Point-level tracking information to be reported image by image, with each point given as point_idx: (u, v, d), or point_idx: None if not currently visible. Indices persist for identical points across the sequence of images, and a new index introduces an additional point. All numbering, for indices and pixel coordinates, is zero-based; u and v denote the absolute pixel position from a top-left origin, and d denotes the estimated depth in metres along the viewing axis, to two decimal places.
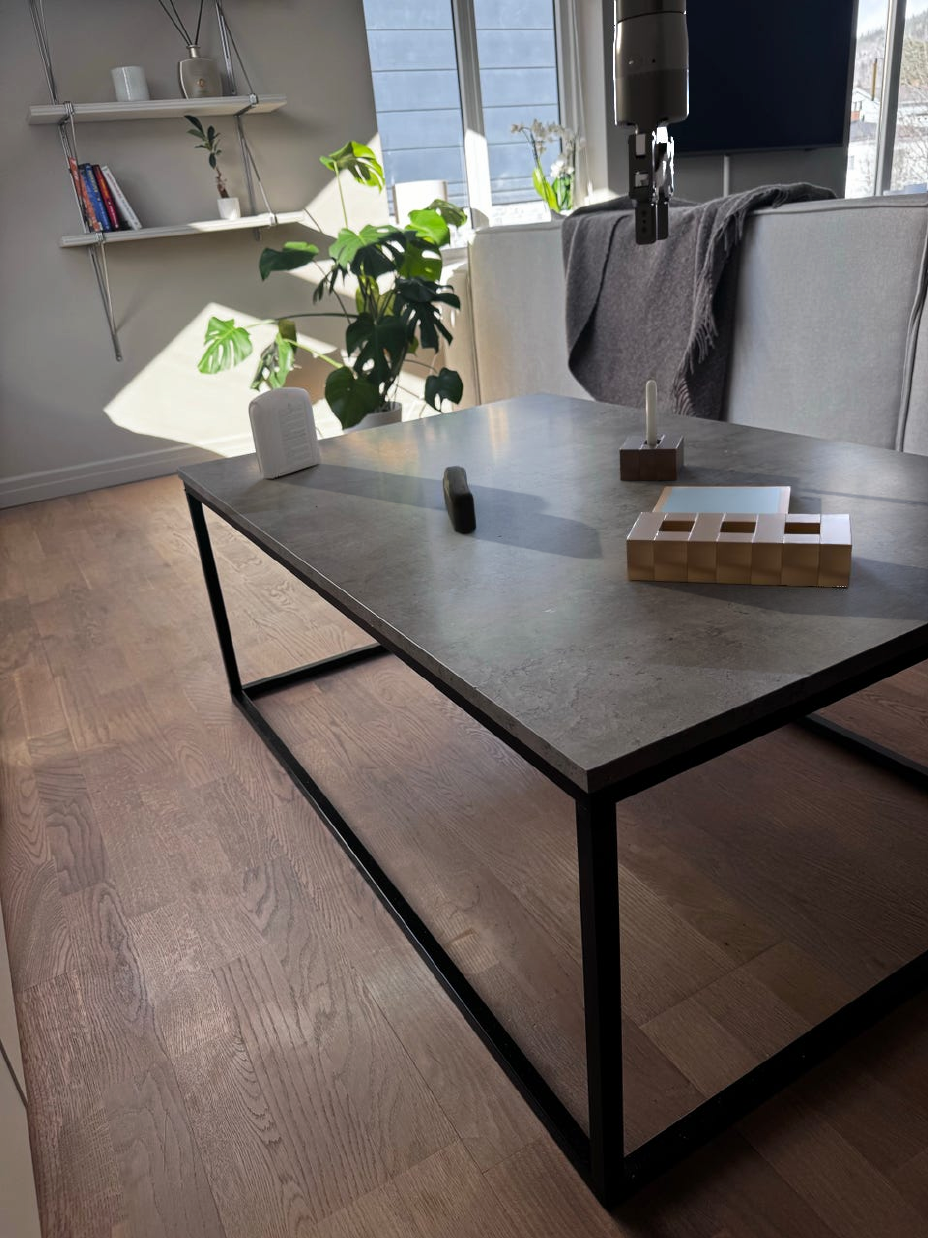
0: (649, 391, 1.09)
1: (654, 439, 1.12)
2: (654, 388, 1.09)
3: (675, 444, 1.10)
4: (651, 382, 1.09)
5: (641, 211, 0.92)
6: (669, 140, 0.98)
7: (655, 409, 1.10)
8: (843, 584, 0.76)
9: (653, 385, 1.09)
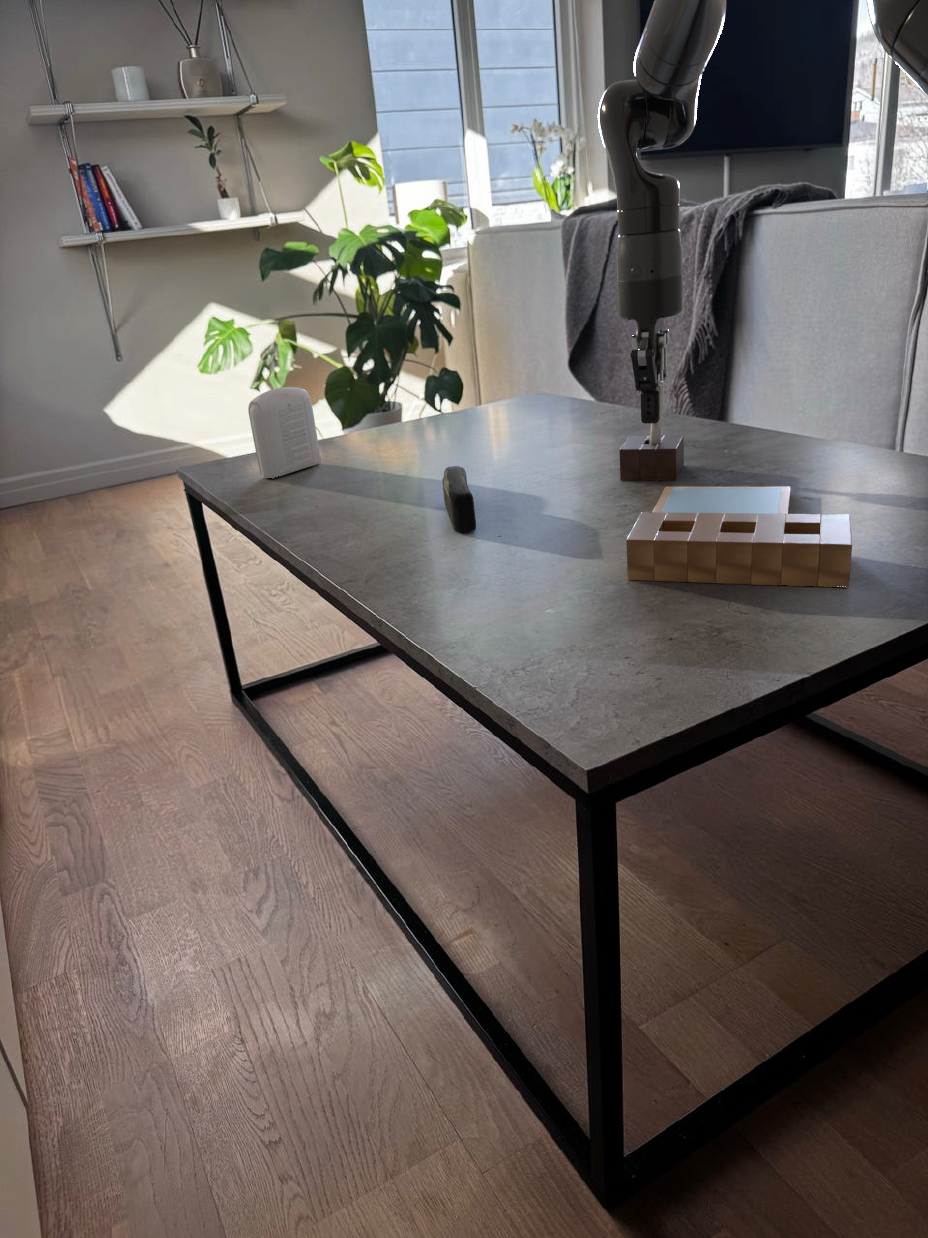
0: None
1: (657, 439, 1.11)
2: (662, 388, 1.09)
3: (675, 444, 1.10)
4: None
5: (646, 398, 1.08)
6: None
7: (661, 409, 1.10)
8: (843, 584, 0.76)
9: (661, 385, 1.09)
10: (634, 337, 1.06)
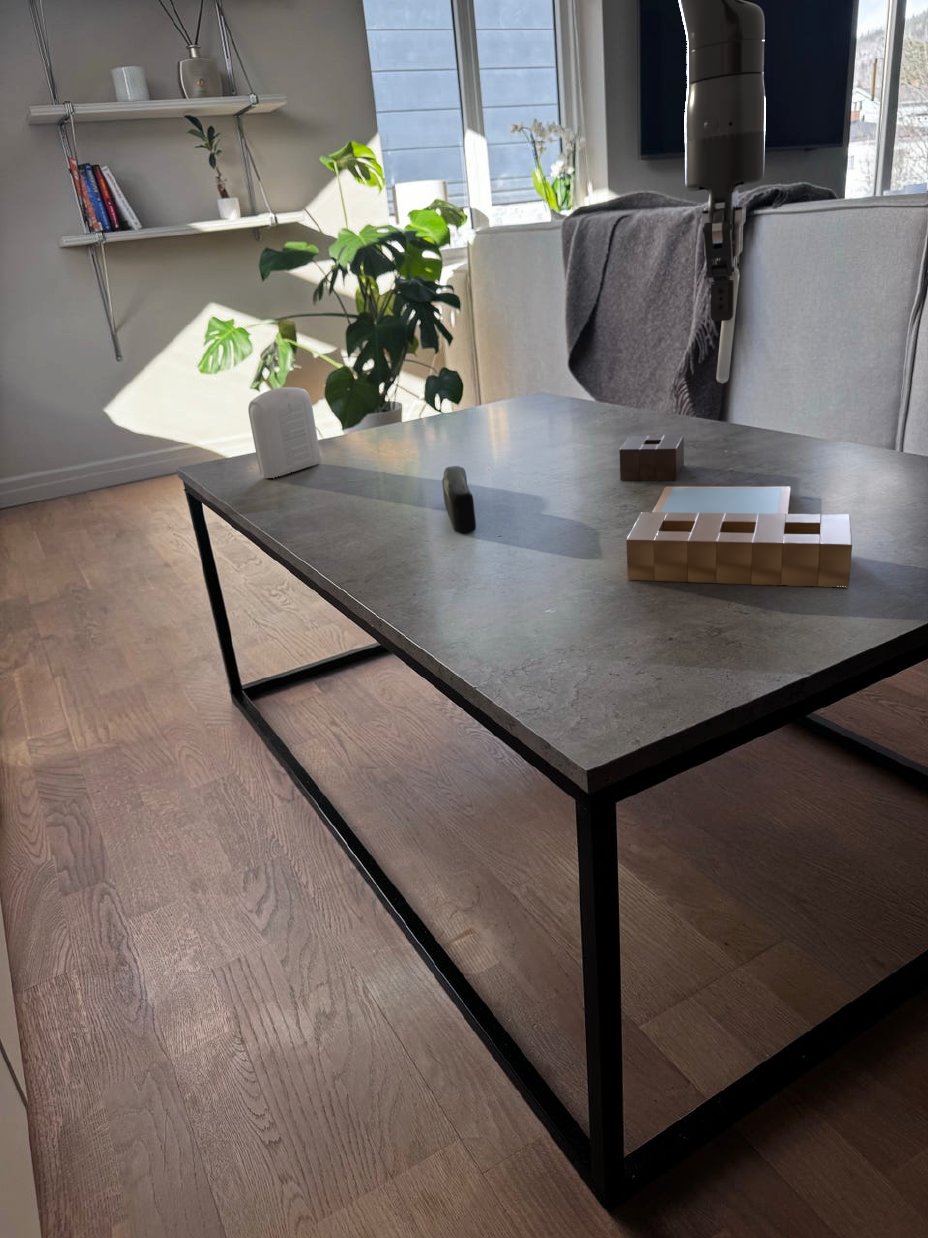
0: None
1: (729, 341, 0.94)
2: (736, 277, 0.91)
3: (675, 444, 1.10)
4: None
5: (718, 288, 0.90)
6: None
7: (734, 304, 0.92)
8: (843, 584, 0.76)
9: (736, 273, 0.91)
10: (705, 212, 0.88)
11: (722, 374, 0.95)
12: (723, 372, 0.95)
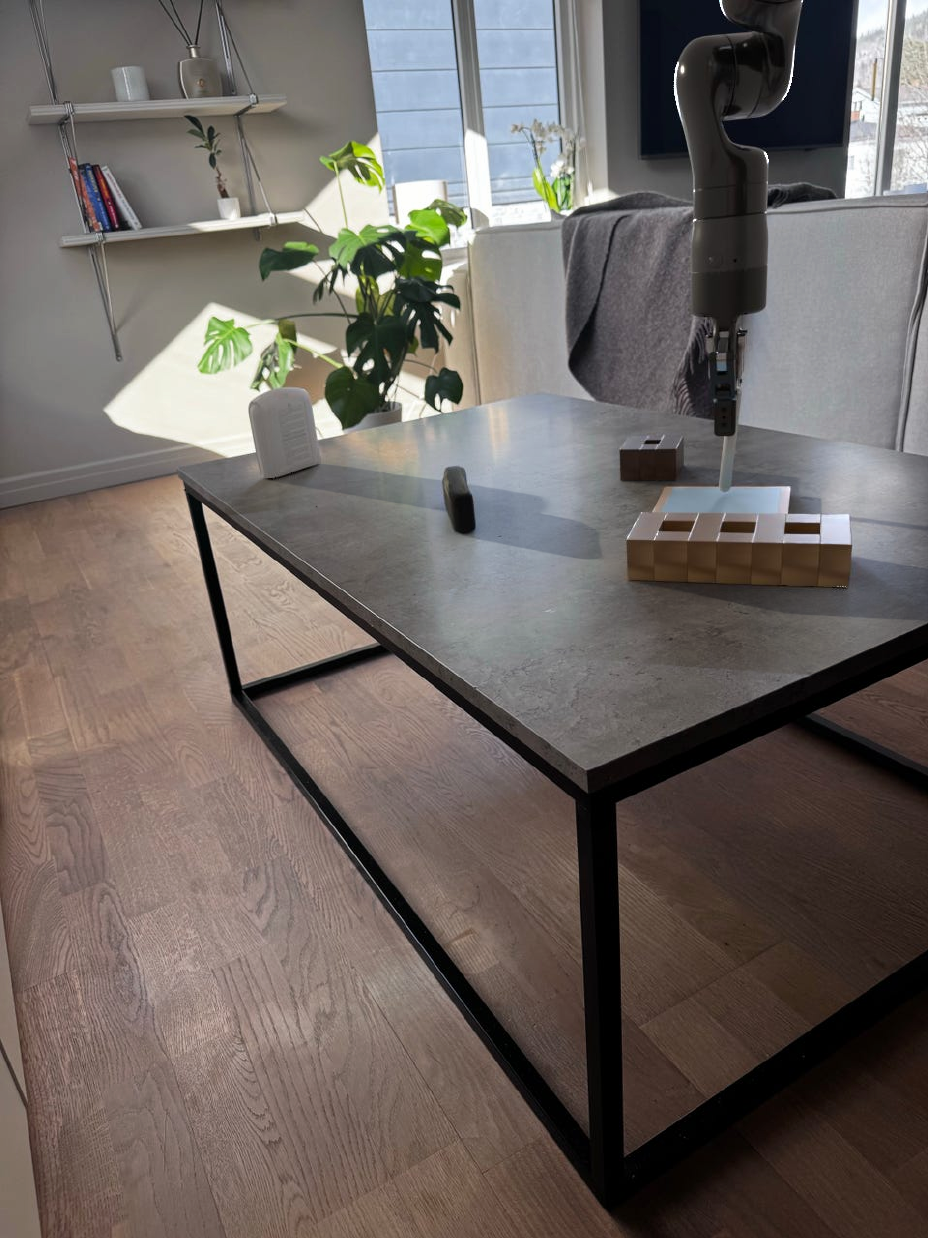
0: None
1: (731, 454, 0.97)
2: (739, 396, 0.95)
3: (675, 444, 1.10)
4: None
5: (721, 407, 0.94)
6: None
7: (737, 420, 0.96)
8: (843, 584, 0.76)
9: None
10: (709, 337, 0.92)
11: (724, 484, 0.99)
12: (725, 483, 0.99)
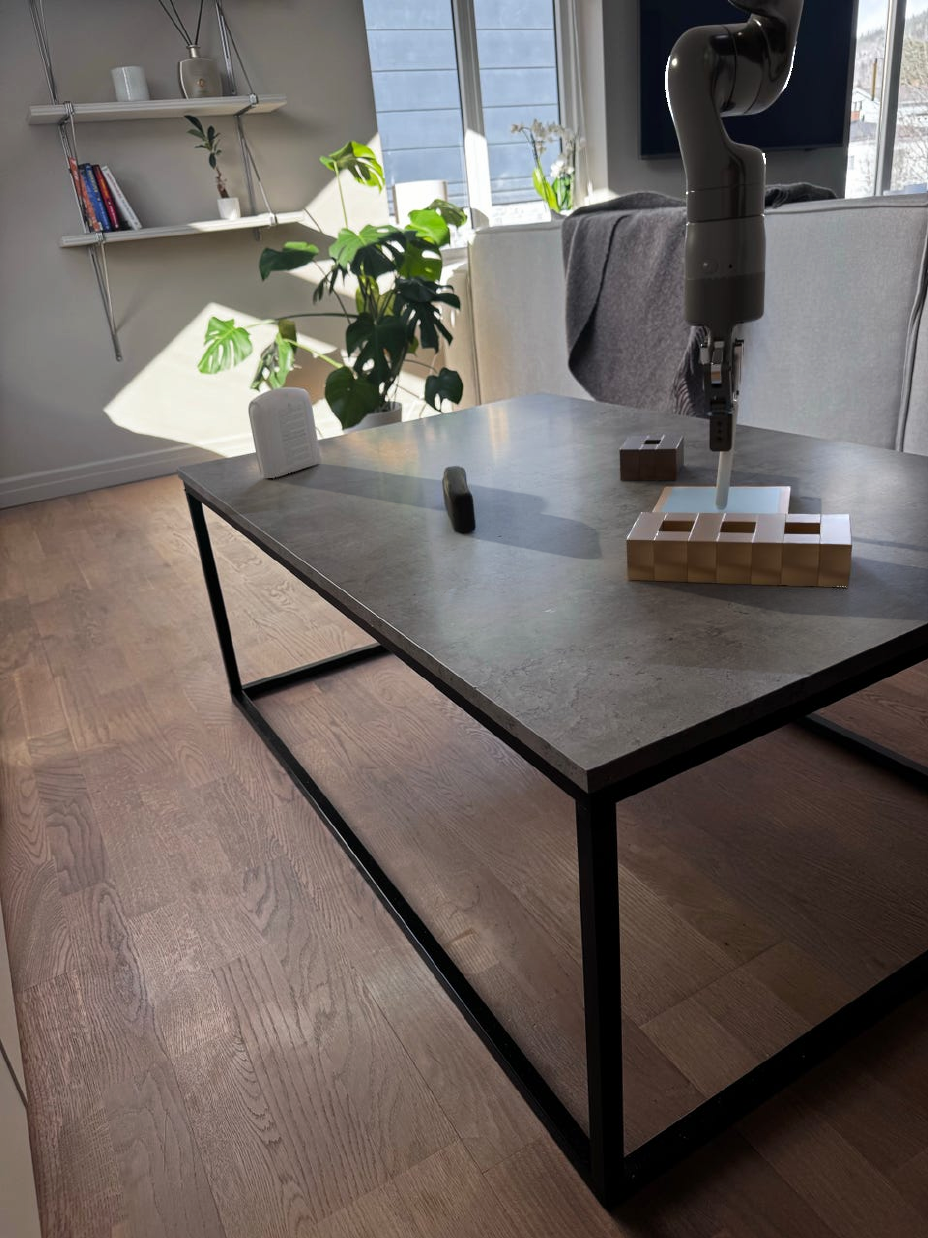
0: None
1: (728, 470, 0.92)
2: (735, 409, 0.89)
3: (675, 444, 1.10)
4: None
5: (716, 421, 0.89)
6: None
7: (733, 435, 0.90)
8: (843, 584, 0.76)
9: (735, 406, 0.89)
10: (703, 347, 0.87)
11: (720, 502, 0.94)
12: (721, 500, 0.93)
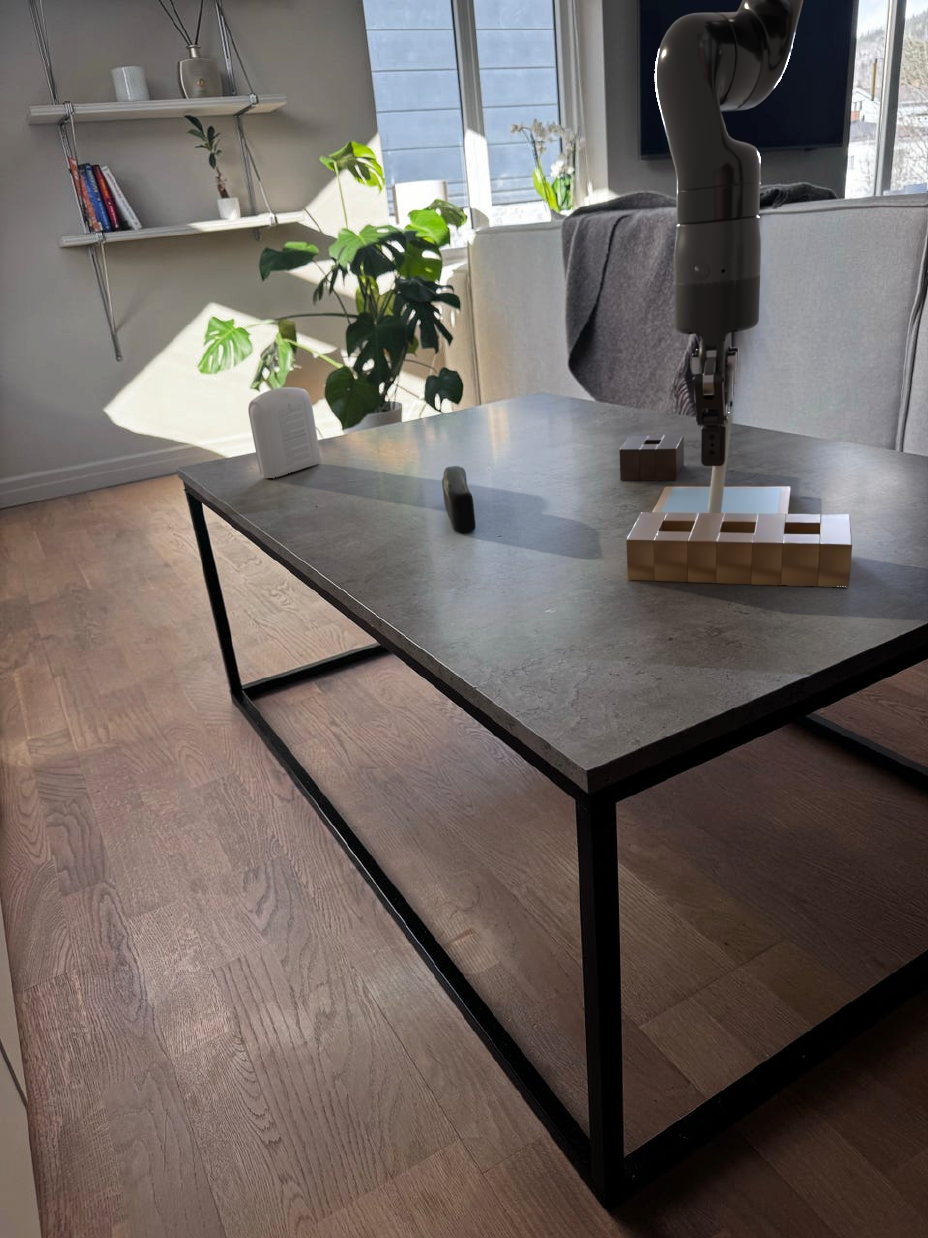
0: None
1: (720, 486, 0.87)
2: (729, 422, 0.85)
3: (675, 444, 1.10)
4: None
5: (709, 434, 0.84)
6: None
7: (726, 448, 0.86)
8: (843, 584, 0.76)
9: (728, 418, 0.84)
10: (695, 356, 0.82)
11: None
12: None
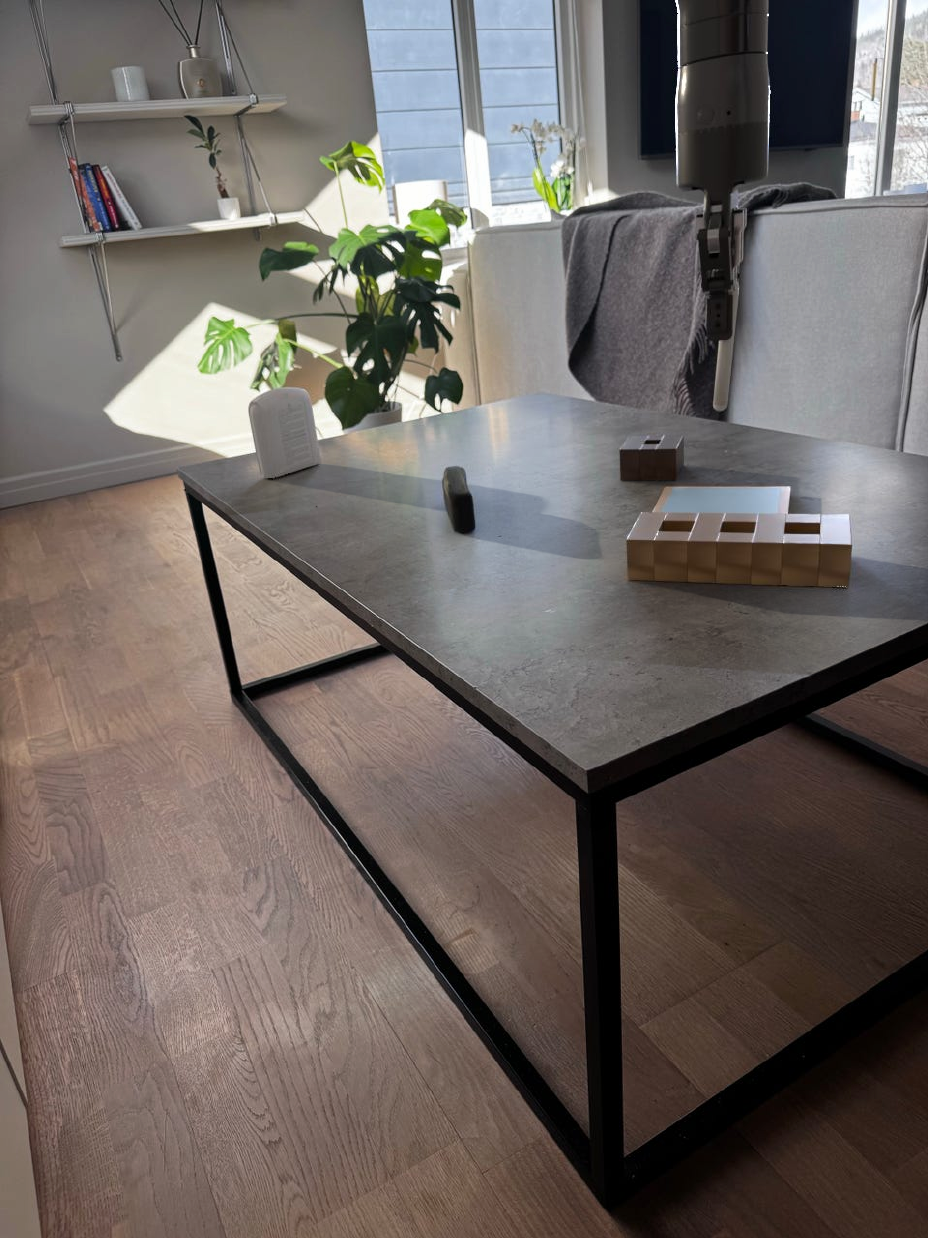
0: None
1: (728, 364, 0.82)
2: (736, 291, 0.79)
3: (675, 444, 1.10)
4: None
5: (715, 304, 0.78)
6: None
7: (734, 321, 0.80)
8: (843, 584, 0.76)
9: None
10: (699, 216, 0.76)
11: (720, 401, 0.83)
12: (721, 399, 0.83)
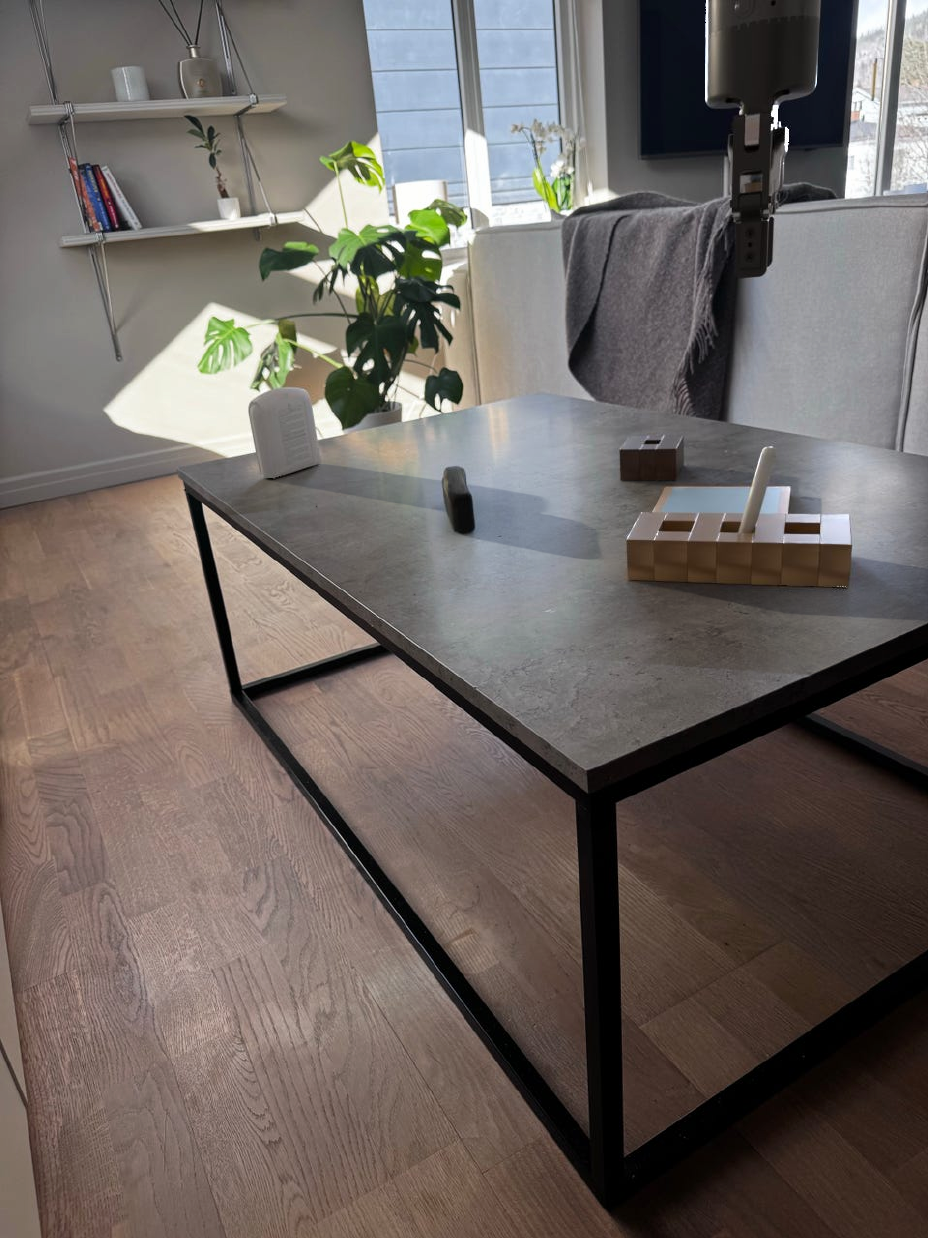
0: (765, 461, 0.77)
1: (752, 526, 0.80)
2: (772, 459, 0.77)
3: (675, 444, 1.10)
4: (771, 450, 0.77)
5: (746, 230, 0.62)
6: (777, 126, 0.68)
7: (765, 487, 0.78)
8: (843, 584, 0.76)
9: (772, 454, 0.77)
10: (733, 134, 0.63)
11: None
12: None
